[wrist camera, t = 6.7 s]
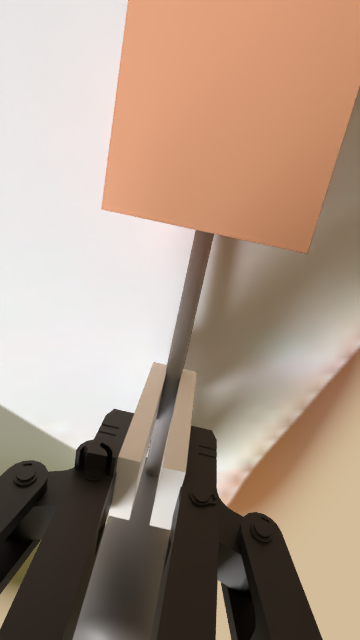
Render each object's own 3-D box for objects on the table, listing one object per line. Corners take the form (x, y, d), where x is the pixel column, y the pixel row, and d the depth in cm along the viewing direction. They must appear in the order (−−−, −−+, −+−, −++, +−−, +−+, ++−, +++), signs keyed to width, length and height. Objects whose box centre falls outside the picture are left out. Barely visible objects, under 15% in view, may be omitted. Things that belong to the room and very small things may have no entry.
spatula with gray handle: (166, 62, 14) (110, -144, 6) (312, 92, 13) (447, -81, 6) (97, 489, 20) (26, 656, 12) (194, 513, 20) (184, 695, 12)
